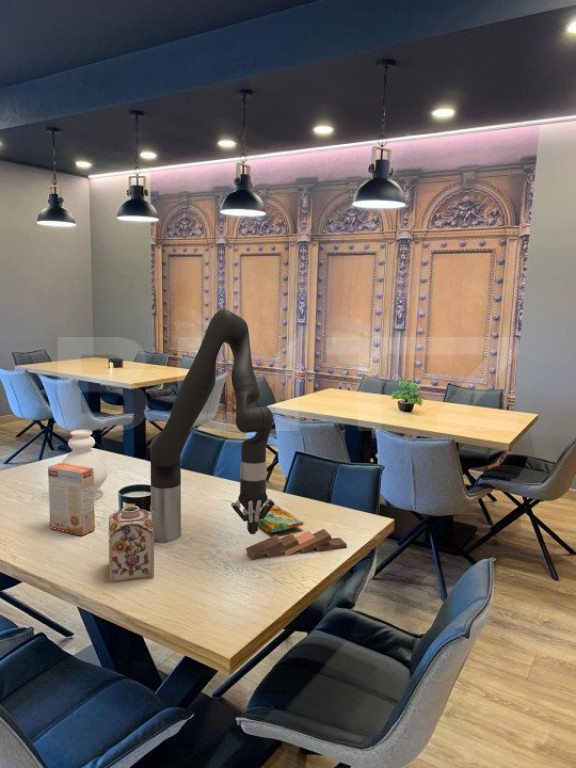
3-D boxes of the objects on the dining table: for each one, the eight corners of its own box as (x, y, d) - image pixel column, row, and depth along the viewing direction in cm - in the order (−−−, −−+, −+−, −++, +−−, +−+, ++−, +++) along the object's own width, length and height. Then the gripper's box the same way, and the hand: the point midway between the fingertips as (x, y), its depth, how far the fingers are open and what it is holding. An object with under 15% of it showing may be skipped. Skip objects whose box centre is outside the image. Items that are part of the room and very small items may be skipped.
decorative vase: (46, 500, 207) (44, 434, 203) (80, 486, 223) (78, 424, 220) (86, 508, 201) (84, 439, 197) (117, 493, 217) (116, 429, 213)
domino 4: (300, 549, 167) (330, 535, 170) (295, 542, 172) (324, 528, 174) (302, 553, 168) (331, 539, 170) (296, 546, 172) (325, 533, 175)
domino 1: (250, 555, 162) (281, 541, 165) (245, 548, 167) (276, 534, 169) (251, 560, 162) (283, 546, 165) (247, 552, 167) (277, 539, 170)
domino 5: (316, 546, 169) (346, 544, 172) (310, 539, 174) (340, 537, 177) (316, 551, 169) (346, 549, 172) (310, 544, 174) (339, 542, 177)
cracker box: (96, 530, 182) (94, 467, 179) (82, 537, 176) (80, 472, 173) (63, 522, 188) (61, 461, 185) (49, 528, 182) (46, 466, 179)
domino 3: (284, 551, 166) (314, 537, 168) (279, 544, 170) (308, 530, 173) (286, 555, 166) (316, 541, 169) (280, 548, 171) (310, 535, 173)
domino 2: (266, 553, 164) (297, 539, 166) (261, 546, 168) (291, 533, 171) (268, 558, 164) (299, 544, 167) (263, 551, 169) (293, 537, 171)
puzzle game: (272, 500, 201) (303, 519, 184) (272, 513, 201) (302, 533, 184) (243, 506, 194) (272, 526, 178) (242, 519, 195) (272, 540, 178)
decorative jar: (154, 578, 152) (153, 514, 149) (109, 583, 148) (107, 518, 146) (152, 558, 163) (151, 499, 160) (109, 563, 160) (108, 502, 157)
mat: (237, 569, 158) (237, 568, 157) (227, 551, 169) (227, 550, 169) (323, 557, 166) (323, 556, 166) (308, 541, 177) (308, 540, 177)
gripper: (271, 470, 167) (270, 525, 170) (227, 473, 163) (227, 530, 165) (279, 477, 160) (278, 535, 163) (234, 481, 156) (233, 541, 158)
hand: (252, 533), depth 164 cm, fingers closed
